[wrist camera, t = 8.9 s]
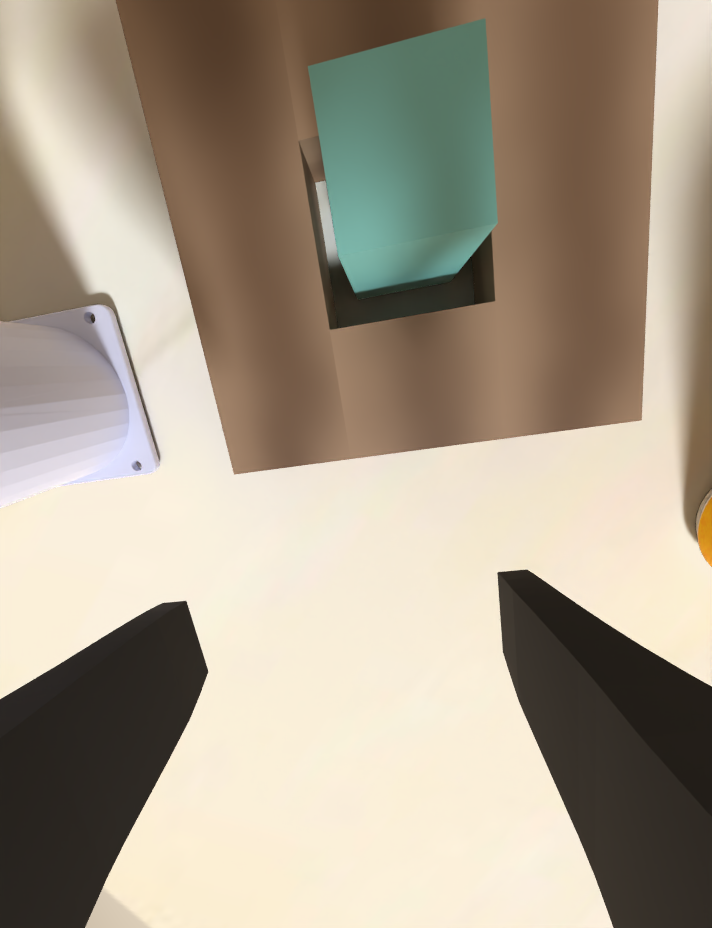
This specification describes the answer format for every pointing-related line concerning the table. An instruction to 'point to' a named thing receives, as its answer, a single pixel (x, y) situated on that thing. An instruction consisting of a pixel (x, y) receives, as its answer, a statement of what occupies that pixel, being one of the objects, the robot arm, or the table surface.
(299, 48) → the holder block
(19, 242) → the table surface
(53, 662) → the table surface
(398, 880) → the table surface
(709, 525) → the beer can
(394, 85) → the teal peg
